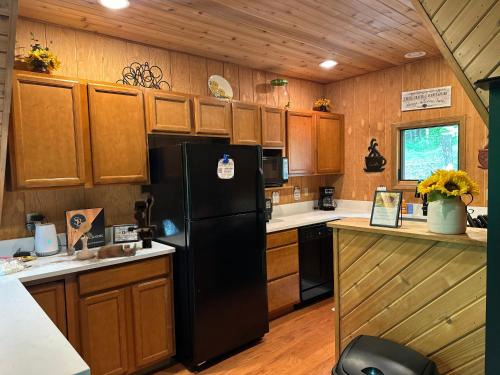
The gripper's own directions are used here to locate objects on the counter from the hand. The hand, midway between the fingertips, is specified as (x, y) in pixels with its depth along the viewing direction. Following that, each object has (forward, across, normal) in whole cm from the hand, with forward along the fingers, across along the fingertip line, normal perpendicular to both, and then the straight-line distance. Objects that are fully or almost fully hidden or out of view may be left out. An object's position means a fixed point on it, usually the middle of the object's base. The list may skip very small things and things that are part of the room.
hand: (142, 240), depth 239 cm
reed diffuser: (+9, +48, -12) cm, 50 cm away
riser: (+9, +12, -13) cm, 20 cm away
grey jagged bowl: (+8, +12, 0) cm, 14 cm away
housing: (+8, +21, 0) cm, 23 cm away
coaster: (+7, +10, 0) cm, 12 cm away
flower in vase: (+9, +36, +3) cm, 37 cm away
